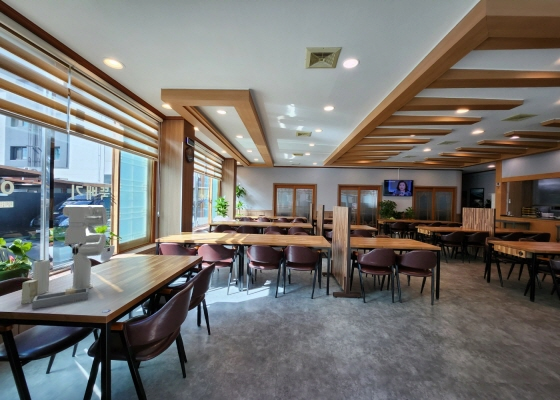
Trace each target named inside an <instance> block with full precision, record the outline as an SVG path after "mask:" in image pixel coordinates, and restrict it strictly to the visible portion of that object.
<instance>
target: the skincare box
mask: <svg viewBox="0 0 560 400" xmlns="http://www.w3.org/2000/svg"><path fill="white" fill-rule="evenodd" d="M21 286H22V287H21V288H22V289H21V302H20V303H21V305H23V304H24V305H25V304H31V303H33V300H34V298H35V296H38V295H37V290H38V280H33V279H29V280H27V281H24V282H22V285H21Z"/></svg>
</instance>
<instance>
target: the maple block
mask: <svg viewBox="0 0 560 400" xmlns="http://www.w3.org/2000/svg"><path fill="white" fill-rule="evenodd" d="M70 288H71V287H70ZM70 288H66V289H65V290H64V291H65V295H70V294H75V288H71V289H70Z"/></svg>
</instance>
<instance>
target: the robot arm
mask: <svg viewBox="0 0 560 400" xmlns="http://www.w3.org/2000/svg"><path fill="white" fill-rule="evenodd" d="M62 214H63V216H64V217H67V218H68V227H66V228H65V235H64V246H66V247H70V248H71V254H72V255H73V272H72V273H73V274H72V286H71V287H69V289H71V288H75V290H77V289H83V288H88V290H89V289H91V288H93V287H94V285H93V283H91V279H92V278H91V275H92V261H91V260H90V258H89V257H95V256H96V257H97V256H101V255H102V254H103V253H104V250H105V248H106V242H107V236H106V234H105V233H102V232H97V231H96V229H95V228H94V227H104V226H107V224H108V220H109V218H108V213H107V208H106V207H105V206H104V205H100V204H99V205H95V204H89V205H88V204H80V205H79V204H78V205H77V204H76V205H75V204H73V205H69V204H68V205H67V204H66V205H65V206H64V207H63V208H62Z"/></svg>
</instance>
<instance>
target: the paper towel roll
mask: <svg viewBox="0 0 560 400" xmlns="http://www.w3.org/2000/svg"><path fill="white" fill-rule="evenodd" d="M50 267H51V260H50V259H47V260H46V259H44V260H43V259H42V260H41V259H40V260H35V261H33V267H32V268H33V269H32V270H33V271H32V280H38V290H37V296H39V295H44V294H47V292H49V289H50V272H51V271H50Z"/></svg>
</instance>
